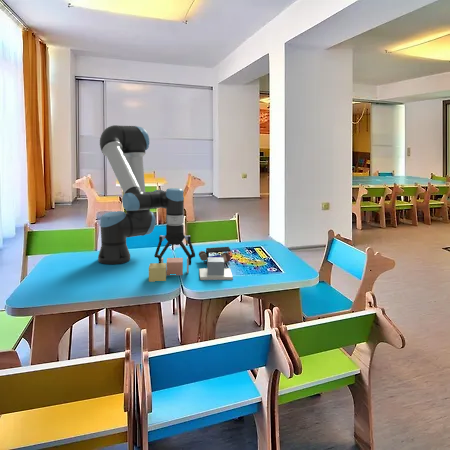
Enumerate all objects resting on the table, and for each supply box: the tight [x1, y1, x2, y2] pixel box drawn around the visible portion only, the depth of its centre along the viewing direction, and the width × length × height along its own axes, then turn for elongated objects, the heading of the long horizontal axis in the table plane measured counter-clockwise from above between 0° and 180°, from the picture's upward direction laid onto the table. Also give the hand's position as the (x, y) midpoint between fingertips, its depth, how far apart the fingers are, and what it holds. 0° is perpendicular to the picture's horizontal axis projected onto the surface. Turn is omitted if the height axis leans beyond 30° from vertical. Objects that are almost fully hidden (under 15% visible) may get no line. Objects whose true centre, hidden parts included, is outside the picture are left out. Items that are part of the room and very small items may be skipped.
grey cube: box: [206, 256, 225, 275], centre depth 179 cm, size 7×7×6 cm
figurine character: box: [198, 246, 232, 265], centre depth 197 cm, size 7×8×15 cm
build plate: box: [198, 267, 234, 281], centre depth 179 cm, size 14×12×1 cm
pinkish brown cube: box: [166, 257, 184, 276], centre depth 181 cm, size 7×7×6 cm
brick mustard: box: [148, 262, 167, 283], centre depth 173 cm, size 7×7×6 cm
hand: (175, 272), depth 182 cm, fingers open, 11 cm apart
